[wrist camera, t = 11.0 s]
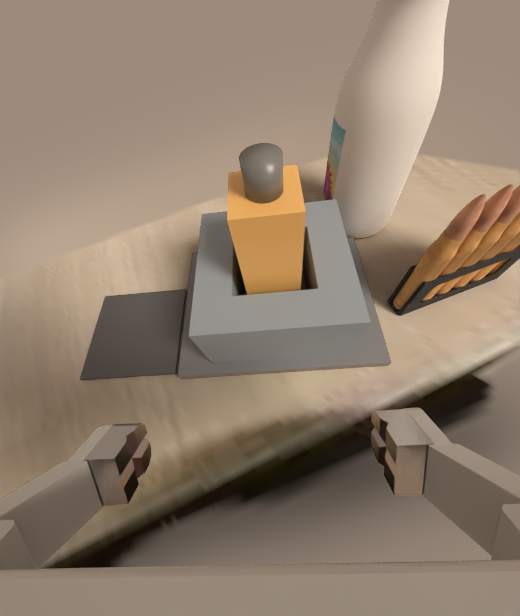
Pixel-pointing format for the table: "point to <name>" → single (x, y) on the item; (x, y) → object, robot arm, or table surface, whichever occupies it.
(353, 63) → the milk bottle
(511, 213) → the ammunition clip
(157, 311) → the mat
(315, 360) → the housing
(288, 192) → the plug
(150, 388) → the table surface
